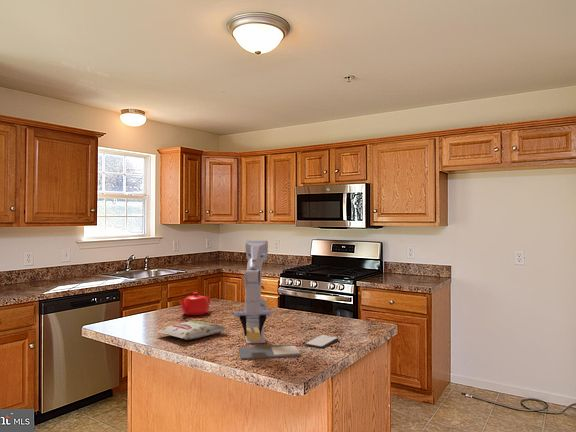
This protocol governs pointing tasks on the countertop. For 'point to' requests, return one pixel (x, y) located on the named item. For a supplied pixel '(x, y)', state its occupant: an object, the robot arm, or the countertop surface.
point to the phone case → (321, 341)
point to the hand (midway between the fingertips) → (252, 334)
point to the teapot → (195, 305)
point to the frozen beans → (192, 329)
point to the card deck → (252, 334)
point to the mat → (268, 352)
